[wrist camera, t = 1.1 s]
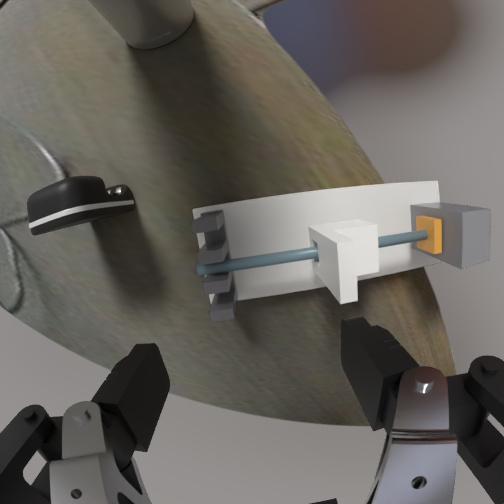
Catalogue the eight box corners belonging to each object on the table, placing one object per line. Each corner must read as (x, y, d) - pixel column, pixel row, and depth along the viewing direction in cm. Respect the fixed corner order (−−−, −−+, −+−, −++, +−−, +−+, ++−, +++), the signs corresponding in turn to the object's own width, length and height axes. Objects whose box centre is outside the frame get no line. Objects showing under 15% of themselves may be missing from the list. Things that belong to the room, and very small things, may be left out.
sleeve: (307, 226, 24) (336, 243, 16) (358, 219, 24) (405, 232, 16) (312, 268, 25) (340, 304, 17) (361, 260, 25) (405, 289, 16)
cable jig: (195, 208, 28) (164, 217, 17) (430, 181, 27) (490, 181, 17) (212, 298, 30) (195, 349, 19) (433, 259, 29) (488, 284, 19)
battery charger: (132, 175, 27) (71, 170, 16) (137, 209, 28) (78, 220, 16) (83, 191, 27) (16, 195, 16) (88, 222, 28) (23, 239, 17)
